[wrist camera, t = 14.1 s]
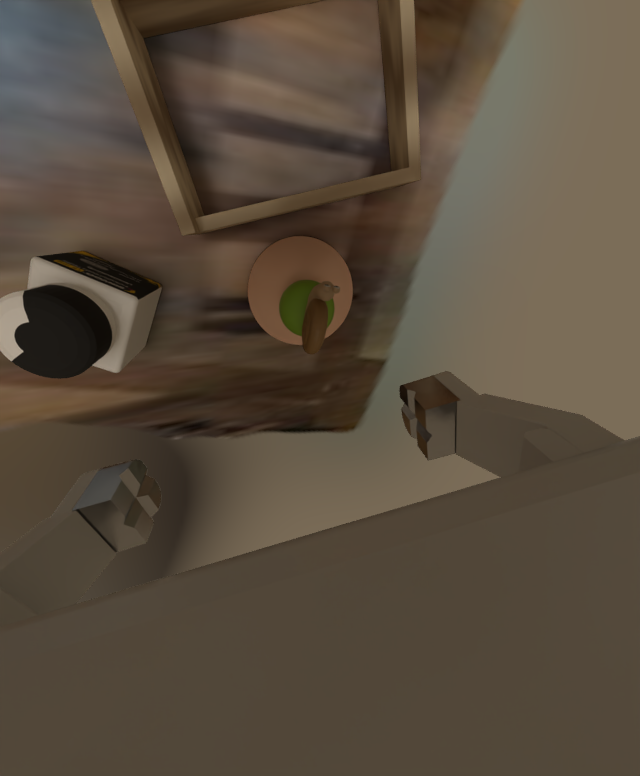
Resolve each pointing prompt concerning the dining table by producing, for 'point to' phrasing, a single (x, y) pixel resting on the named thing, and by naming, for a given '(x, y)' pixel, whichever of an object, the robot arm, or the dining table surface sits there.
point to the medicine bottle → (77, 316)
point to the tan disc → (291, 265)
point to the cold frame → (221, 3)
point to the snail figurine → (308, 311)
